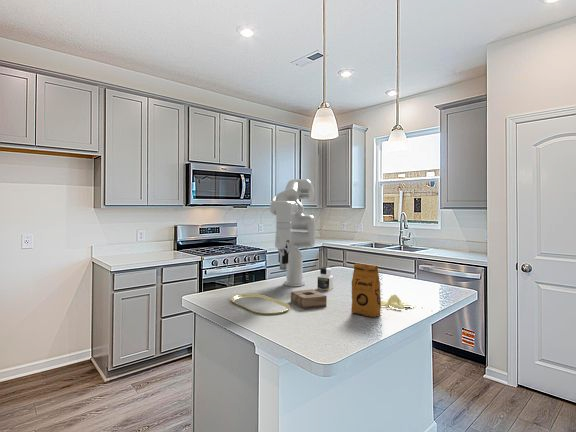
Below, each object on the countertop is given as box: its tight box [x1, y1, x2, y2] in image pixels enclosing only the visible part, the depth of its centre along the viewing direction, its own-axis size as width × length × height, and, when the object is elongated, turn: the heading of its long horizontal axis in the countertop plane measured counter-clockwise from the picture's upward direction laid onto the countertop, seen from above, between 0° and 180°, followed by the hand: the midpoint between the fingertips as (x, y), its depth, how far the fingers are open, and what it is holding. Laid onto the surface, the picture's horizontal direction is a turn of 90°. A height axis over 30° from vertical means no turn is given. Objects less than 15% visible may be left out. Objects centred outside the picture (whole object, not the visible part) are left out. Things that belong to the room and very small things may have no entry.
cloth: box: [381, 293, 412, 309], centre depth 164 cm, size 22×19×6 cm
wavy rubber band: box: [231, 293, 291, 316], centre depth 165 cm, size 19×35×2 cm, turn 38°
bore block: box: [290, 288, 327, 310], centre depth 167 cm, size 14×12×5 cm
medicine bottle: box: [317, 266, 334, 291], centre depth 199 cm, size 7×7×12 cm
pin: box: [279, 249, 287, 271], centre depth 172 cm, size 4×4×10 cm
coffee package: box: [351, 263, 382, 318], centre depth 152 cm, size 10×12×22 cm
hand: (283, 262), depth 172 cm, fingers closed on pin, 3 cm apart
